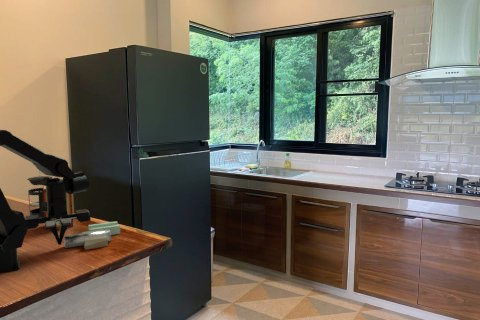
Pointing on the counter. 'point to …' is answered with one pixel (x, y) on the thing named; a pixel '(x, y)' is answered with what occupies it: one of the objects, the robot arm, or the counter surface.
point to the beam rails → (95, 241)
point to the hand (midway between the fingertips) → (59, 244)
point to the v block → (106, 227)
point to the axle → (79, 238)
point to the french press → (40, 193)
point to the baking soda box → (69, 207)
